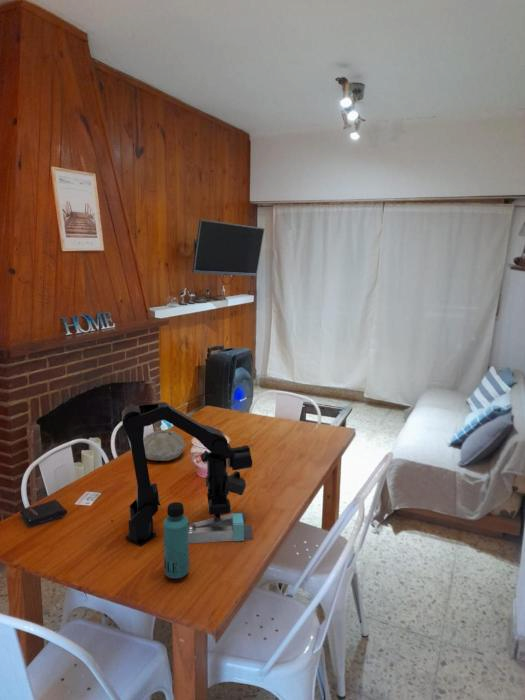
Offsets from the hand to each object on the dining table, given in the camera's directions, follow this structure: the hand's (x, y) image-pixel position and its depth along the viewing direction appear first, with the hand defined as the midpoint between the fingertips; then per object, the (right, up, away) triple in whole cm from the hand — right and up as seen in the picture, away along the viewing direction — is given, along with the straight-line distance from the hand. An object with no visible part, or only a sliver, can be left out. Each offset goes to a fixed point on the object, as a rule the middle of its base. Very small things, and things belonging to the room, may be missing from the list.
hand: (217, 518), depth 145 cm
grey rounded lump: (-27, +8, +48) cm, 56 cm away
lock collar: (+6, -3, -5) cm, 9 cm away
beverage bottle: (-8, -7, -23) cm, 26 cm away
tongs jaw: (0, -3, -2) cm, 3 cm away
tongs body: (0, -3, -6) cm, 7 cm away
